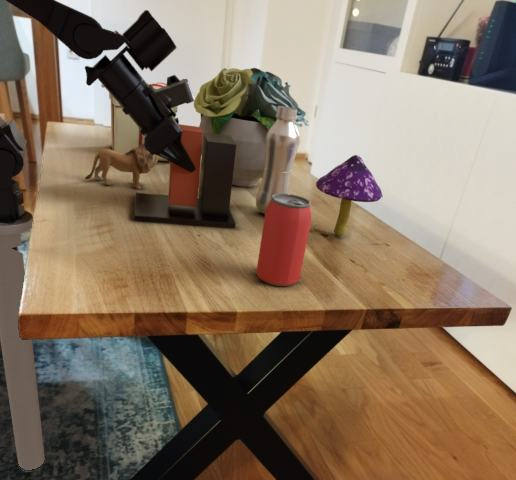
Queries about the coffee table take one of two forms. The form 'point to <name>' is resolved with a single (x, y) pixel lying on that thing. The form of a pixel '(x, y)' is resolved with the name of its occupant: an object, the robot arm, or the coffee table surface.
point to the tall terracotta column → (181, 180)
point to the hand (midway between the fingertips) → (192, 166)
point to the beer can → (284, 239)
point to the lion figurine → (124, 163)
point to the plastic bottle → (278, 156)
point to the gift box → (127, 127)
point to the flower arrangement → (244, 115)
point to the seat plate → (174, 213)
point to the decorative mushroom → (349, 187)
